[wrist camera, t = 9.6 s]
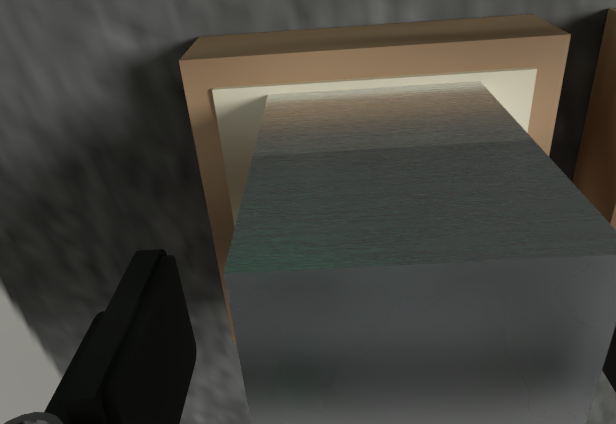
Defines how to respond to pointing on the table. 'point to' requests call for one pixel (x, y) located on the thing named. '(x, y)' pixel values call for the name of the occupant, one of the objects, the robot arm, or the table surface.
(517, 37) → the stand
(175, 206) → the table surface
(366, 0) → the table surface
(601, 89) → the stand
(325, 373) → the block
